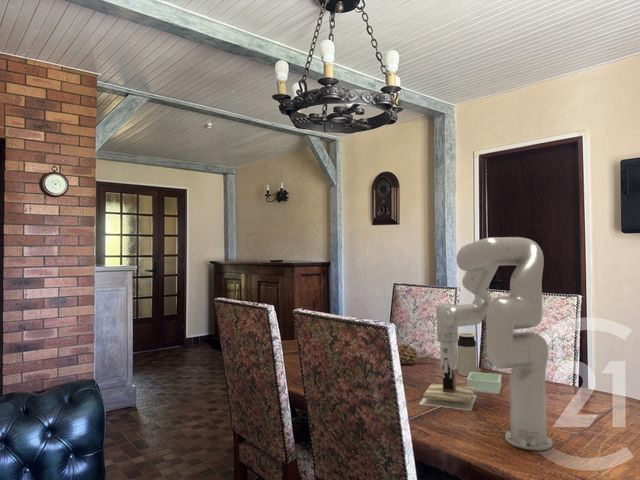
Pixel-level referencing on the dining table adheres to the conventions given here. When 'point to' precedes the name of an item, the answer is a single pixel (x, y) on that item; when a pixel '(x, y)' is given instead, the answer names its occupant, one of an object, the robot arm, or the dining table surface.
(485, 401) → the dining table surface
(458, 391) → the lid
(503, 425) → the dining table surface
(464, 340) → the travel mug
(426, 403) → the mat
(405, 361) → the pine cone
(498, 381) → the dish
